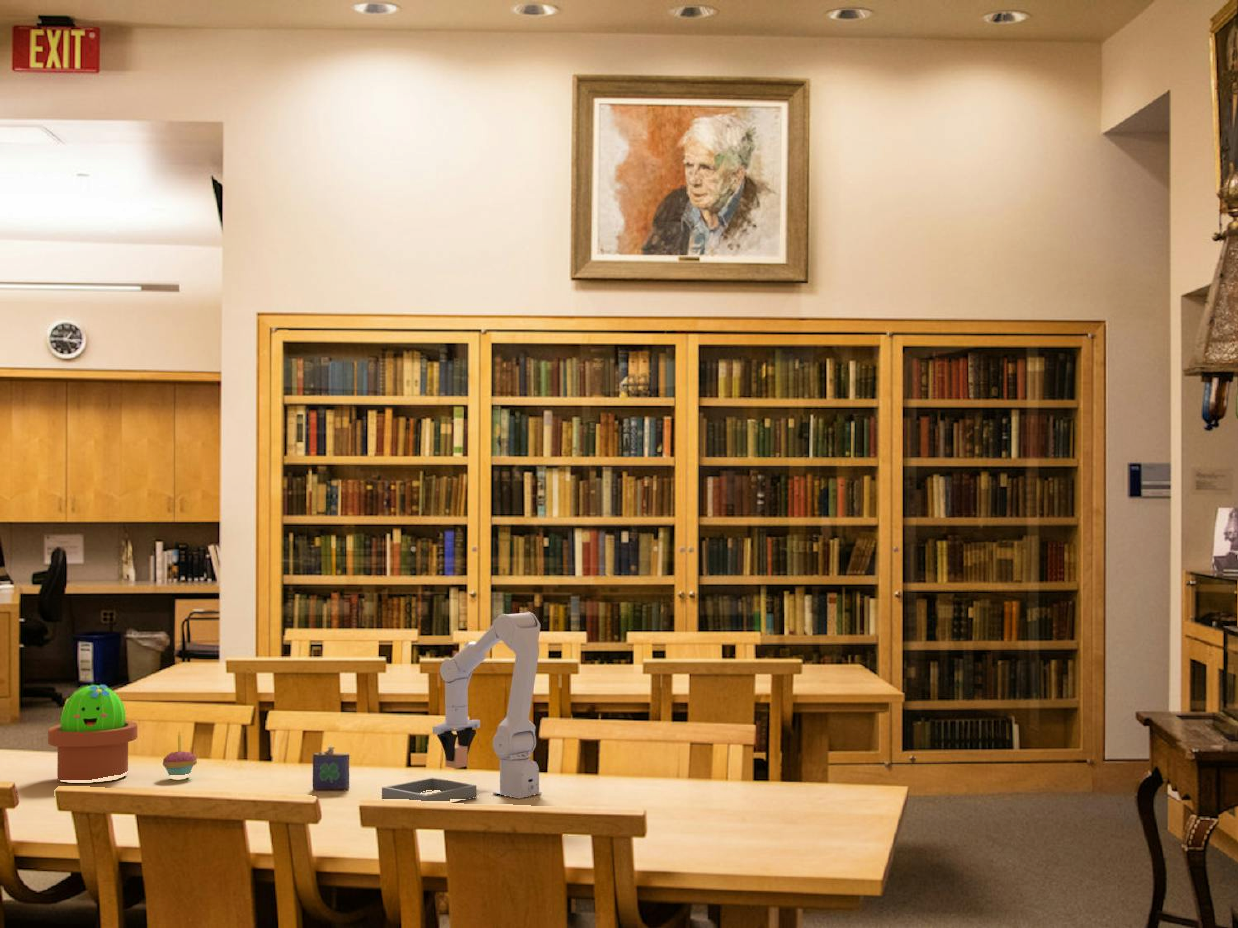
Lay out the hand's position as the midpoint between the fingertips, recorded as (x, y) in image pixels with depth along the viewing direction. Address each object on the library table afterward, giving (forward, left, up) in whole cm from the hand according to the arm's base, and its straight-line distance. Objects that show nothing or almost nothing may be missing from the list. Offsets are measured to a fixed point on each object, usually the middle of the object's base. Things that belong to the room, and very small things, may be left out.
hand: (456, 759), depth 350 cm
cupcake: (+62, +41, -6) cm, 75 cm away
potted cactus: (+81, +55, -6) cm, 98 cm away
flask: (+19, +25, -6) cm, 32 cm away
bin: (-9, +17, -6) cm, 20 cm away
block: (0, 0, -2) cm, 2 cm away
